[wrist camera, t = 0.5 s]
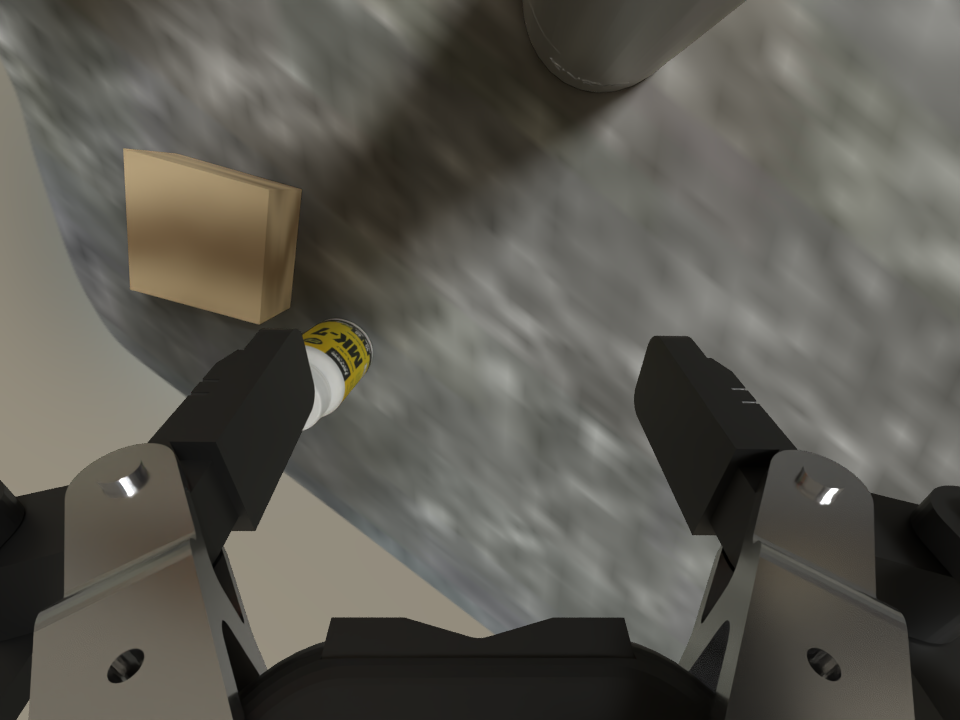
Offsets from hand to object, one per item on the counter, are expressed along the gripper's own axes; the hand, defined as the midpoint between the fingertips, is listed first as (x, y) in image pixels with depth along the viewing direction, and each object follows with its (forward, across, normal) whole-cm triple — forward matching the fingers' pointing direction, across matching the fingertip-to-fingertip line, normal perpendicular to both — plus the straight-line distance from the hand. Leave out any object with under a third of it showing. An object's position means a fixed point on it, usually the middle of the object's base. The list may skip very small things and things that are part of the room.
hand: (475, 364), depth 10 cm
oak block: (+20, +16, +4) cm, 26 cm away
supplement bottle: (+18, +9, +11) cm, 23 cm away
